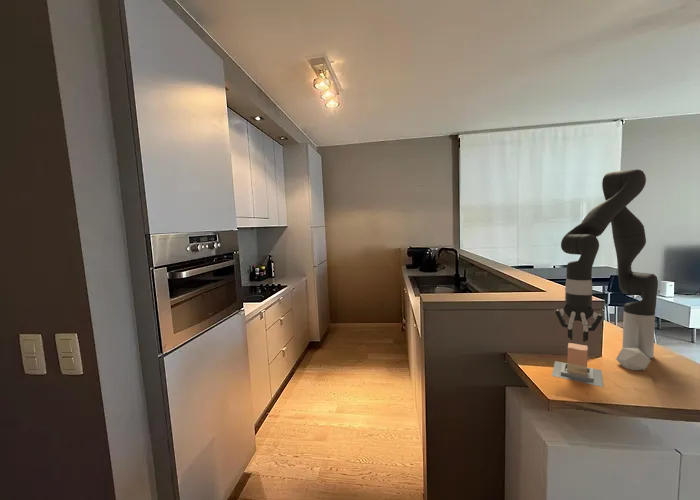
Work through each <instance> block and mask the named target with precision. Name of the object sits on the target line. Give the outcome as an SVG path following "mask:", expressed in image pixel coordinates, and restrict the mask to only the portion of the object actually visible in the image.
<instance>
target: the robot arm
mask: <svg viewBox="0 0 700 500" xmlns="http://www.w3.org/2000/svg"><path fill="white" fill-rule="evenodd" d="M646 183H647V178H646V174H645V172H644V171H643V170H641V169H638V168H637V169H626V170H625V169H624V170H615V171H610V172H607V173H605V174H604V176H603V178H602V182H601V185H602V186H601V188H602V192H603V196H604V200H605V201H602V203H600V204H598V205H596V206H595V207H594V208H592V209H591V210H590V211H589V212H588V213H587V214H586V216H585V217H584V219H583V220H581V223H579V224H577V225H576V226H574V228H572V229H571V230H569V231H568V232H567V233H566V234H564V236H563V237H562V239H561V242H560V248H561V250H562V251H563V253H565V254H567V255H580V256H579V259H577V260H573V261H569V262H568V263H567V264H566V280H565V287H564V291H565V293H564V295H565V297H564V298H565V299H564V306H563V308H561V309H558V308H557V309H555V312H554V313H555V315H556V316H557V319H558V320H559V323H560V325H561V327H562V328H566V329H567V338H568V339H569V340H570V341H573V339H574V338H573V337H574V334H573V333H574V329H573V326H574V325H573V324H574V322H577V321H579V322H581V323H582V328H583V329H582V330H583V331H582V342H583V343H586V342H587V341H588V340H589V332H594V331H595V330H596V329H597V327H598V326H599V324H600V323H601V321H602V320H603V314H602V313H598V312H595V311H594V309H593V292H594V291H593V282H592V280H593V279H592V277H593V275H592V274H593V266H594V262H595V259H596V256H597V254H598V251H599V248H600V243H599V242H600V241H599V240H598V237H600V236H601V235H602V234H603V233H604V232H605V230H606V229H607V228H608V226H609V225H610V224H611V225H610V226H611V233H612V239H613V244H614V248H615V255H616V261H617V272H618V273H617V278H618V287H619V290H620V291H621V292H622V294H625V295H631V296H636V297H639V296H640V297H642V298H641V300H639V301H635V302H634V301H633V302H626V303H625V304H624V305H623V318H622V319H623V320H622V321H623V323H622V348H638V349H639V350H640V351H642V352H643V353H644V354H645V355H646V356H647V357H648V358H649V359H650V360H651V359H654V348H655V328H656V327H655V326H656V325H655V324H656V308H657V307H656V306H657V296H658V289H659V280H658V276H656V274H654V273H650V272H639V271H638V272H636V271H632V264H633V262H634V261H635V259H636V258H637V256H638V255H639V254H640V253H641V251H642V250H643V249H644V248H645V246H646V243H647V239H646V230H645V226H644V224H643V223H642V222H641V220H640V219H639V218H638V217H637V216H636V215H635V214H634V213H633V212H632V211H631V210H630V209H629V208H628V207H627V206H628V205H629V204H631V202H632V201H634V199H635V198H636V197H638V196H639V195H640V194H641V193H642V191H643V190H644V188H645V186H646ZM564 313H565V314H566V315H567V317H568V318H569V319H568V320H569V321H568V323H567V322H566V320H565V318H564V317H563V316H564ZM590 317H593V319H594V320H593V322H592V323H591V325H588V320H589V319H590ZM622 348H621V349H622Z"/></svg>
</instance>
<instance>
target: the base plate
mask: <svg viewBox="0 0 700 500" xmlns="http://www.w3.org/2000/svg"><path fill="white" fill-rule="evenodd" d="M551 377H556V378H560V379H565V380H569V381H575V382H578V383H583V384H587V385H591V386H597V387H600V388H601V387H602V388H604V379H603V378H604V377H603V370H602V369H597V368H592V367H588V366H587V376H583V375H579V374H574V373H569V372H567V362H562V361H557V360H556V361H554V364H553V369H552V373H551Z"/></svg>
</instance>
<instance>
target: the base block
mask: <svg viewBox="0 0 700 500" xmlns="http://www.w3.org/2000/svg"><path fill="white" fill-rule="evenodd" d="M566 363H567V372H569V373H574V374H579V375H583V376H587V367H588V366H587V367H585V366H580V365H575V364H570V363H568V361H567V362H566Z"/></svg>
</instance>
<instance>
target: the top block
mask: <svg viewBox="0 0 700 500" xmlns="http://www.w3.org/2000/svg"><path fill="white" fill-rule="evenodd" d="M567 343H568V344H567V362H568V363H570V364H575V365H580V366H585V367H588V350H589V348H588V345H584V344H578V343H571V342H567Z"/></svg>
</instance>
